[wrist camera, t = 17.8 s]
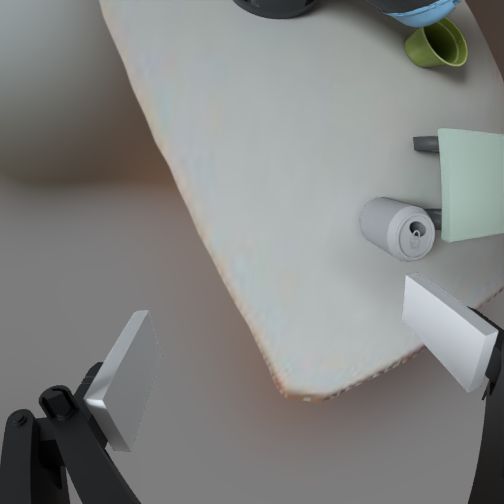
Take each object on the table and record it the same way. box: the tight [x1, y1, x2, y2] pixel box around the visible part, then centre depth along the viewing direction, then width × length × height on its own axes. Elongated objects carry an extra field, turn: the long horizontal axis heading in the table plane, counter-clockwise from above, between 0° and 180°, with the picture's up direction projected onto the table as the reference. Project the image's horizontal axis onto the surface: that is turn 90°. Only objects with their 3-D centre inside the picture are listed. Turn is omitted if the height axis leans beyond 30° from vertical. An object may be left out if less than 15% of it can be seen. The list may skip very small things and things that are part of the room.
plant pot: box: [405, 17, 468, 67], centre depth 34 cm, size 9×9×9 cm
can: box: [360, 197, 435, 262], centre depth 40 cm, size 8×8×12 cm
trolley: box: [413, 128, 504, 242], centre depth 34 cm, size 16×18×23 cm
